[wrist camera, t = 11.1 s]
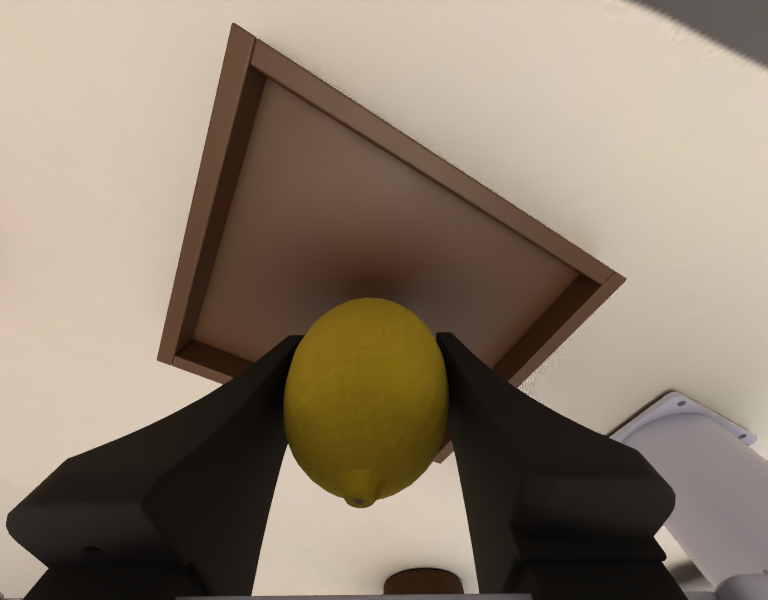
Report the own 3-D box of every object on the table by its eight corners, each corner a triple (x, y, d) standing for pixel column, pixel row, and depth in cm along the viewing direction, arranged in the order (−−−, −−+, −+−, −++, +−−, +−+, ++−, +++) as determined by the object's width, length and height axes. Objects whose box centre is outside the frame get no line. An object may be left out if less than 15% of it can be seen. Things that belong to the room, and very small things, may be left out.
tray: (592, 263, 15) (627, 279, 13) (434, 433, 21) (440, 464, 19) (261, 49, 11) (231, 20, 9) (185, 335, 17) (155, 360, 15)
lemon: (417, 256, 12) (466, 393, 5) (437, 355, 14) (491, 547, 7) (298, 285, 12) (183, 444, 5) (337, 375, 15) (293, 570, 8)
